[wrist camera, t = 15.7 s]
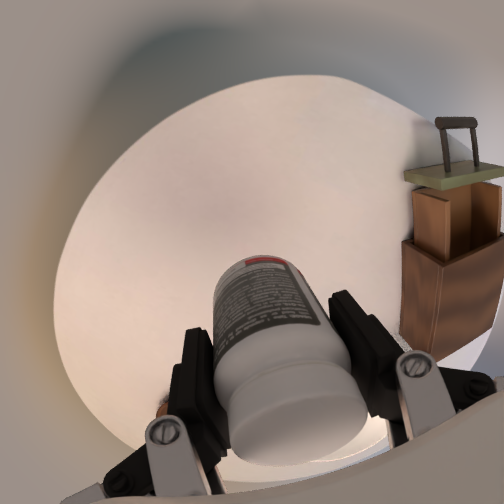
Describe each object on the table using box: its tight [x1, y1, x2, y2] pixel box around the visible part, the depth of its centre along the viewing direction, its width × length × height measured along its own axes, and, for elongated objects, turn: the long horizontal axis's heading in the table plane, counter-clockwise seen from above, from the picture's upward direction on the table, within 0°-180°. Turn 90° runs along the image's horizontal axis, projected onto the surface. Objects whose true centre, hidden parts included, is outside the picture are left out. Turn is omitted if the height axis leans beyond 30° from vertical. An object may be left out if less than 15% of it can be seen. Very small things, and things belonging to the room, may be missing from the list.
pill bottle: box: [213, 255, 368, 467], centre depth 10 cm, size 5×5×8 cm
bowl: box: [313, 412, 388, 462], centre depth 40 cm, size 20×20×7 cm
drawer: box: [404, 117, 504, 263], centre depth 27 cm, size 21×13×7 cm, turn 14°
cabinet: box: [399, 232, 504, 362], centre depth 31 cm, size 16×15×9 cm
